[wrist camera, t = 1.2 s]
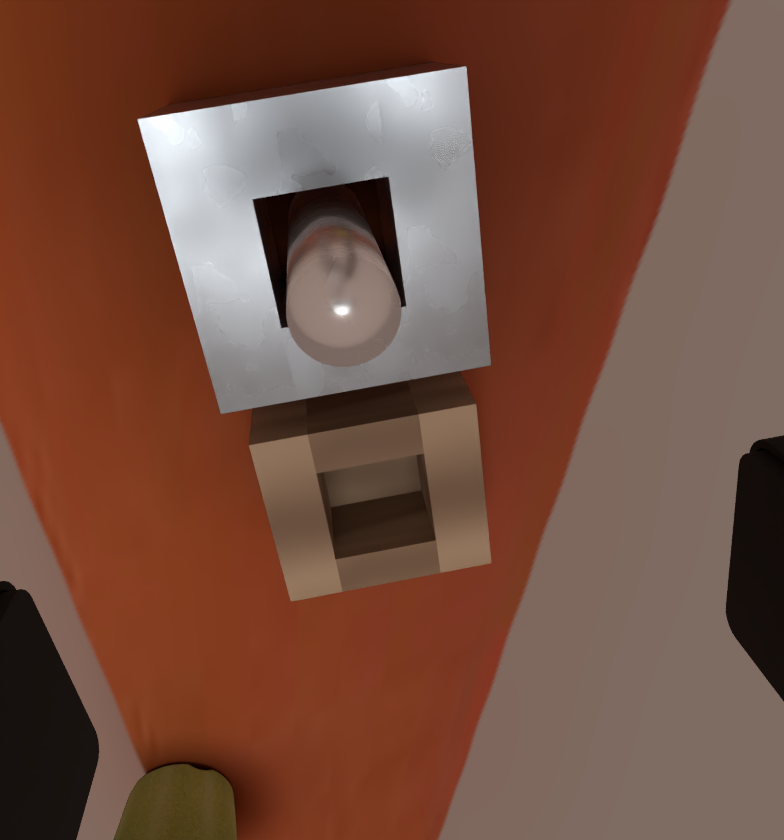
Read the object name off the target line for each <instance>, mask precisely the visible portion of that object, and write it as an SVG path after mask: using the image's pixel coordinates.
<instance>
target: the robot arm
mask: <svg viewBox="0 0 784 840" xmlns="http://www.w3.org/2000/svg"><path fill="white" fill-rule="evenodd" d="M726 616H727V620H728V623H729V626H730V629H731V631H732V633H733V634H734V636H735V638H736V639H737V640H738V641H739V643H740V644H741V646H742V647H743V648H744V649H745V651H746V652H747V653H748V655H749V656H750V657H751V659H752V660H753V661H754V663H755V664H756V665H757V667H758V668H759V669H760V671H761V672H762V673H763V675H764V676H765V677H766V679H767V680H768V681H769V683H770V684H771V685H772V686H773V688H774V689H775V690H776V692H777V693H778V694H779V695H780V697H781V698H782V700H783V701H784V436H779V437H773V438H768V439H762V440H758V441H756V442H755V443H754V444H753V445H752V447H751V449H750V453H747V454H745V455H743V456H742V458H741V459H740V463H739V470H738V481H737V492H736V503H735V514H734V525H733V535H732V546H731V557H730V568H729V579H728V590H727V601H726ZM98 758H99V743H98V738H97V734H96V731H95V729H94V727H93V725H92V722H91V721H90V718H89V716H88V714H87V712H86V710H85V708H84V706H83V704H82V702H81V699H80V697H79V695H78V693H77V691H76V689H75V687H74V685H73V683H72V681H71V679H70V676H69V674H68V672H67V670H66V668H65V666H64V664H63V662H62V660H61V658H60V655H59V653H58V651H57V649H56V647H55V645H54V643H53V641H52V639H51V637H50V634H49V632H48V630H47V628H46V627H45V624H44V622H43V620H42V618H41V616H40V614H39V611H38V610H37V607H36V605H35V603H34V601H33V599H32V597H31V596H30V594H29V593H28V592H27V591H26V590H22V589H20V590H16V589H15V587H14V586H13V585H12V584H11V583H9V582H6V581H1V582H0V840H76V838H77V835H78V831H79V828H80V823H81V820H82V817H83V813H84V810H85V806H86V803H87V799H88V795H89V792H90V788H91V785H92V781H93V777H94V774H95V770H96V766H97V763H98Z"/></svg>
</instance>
